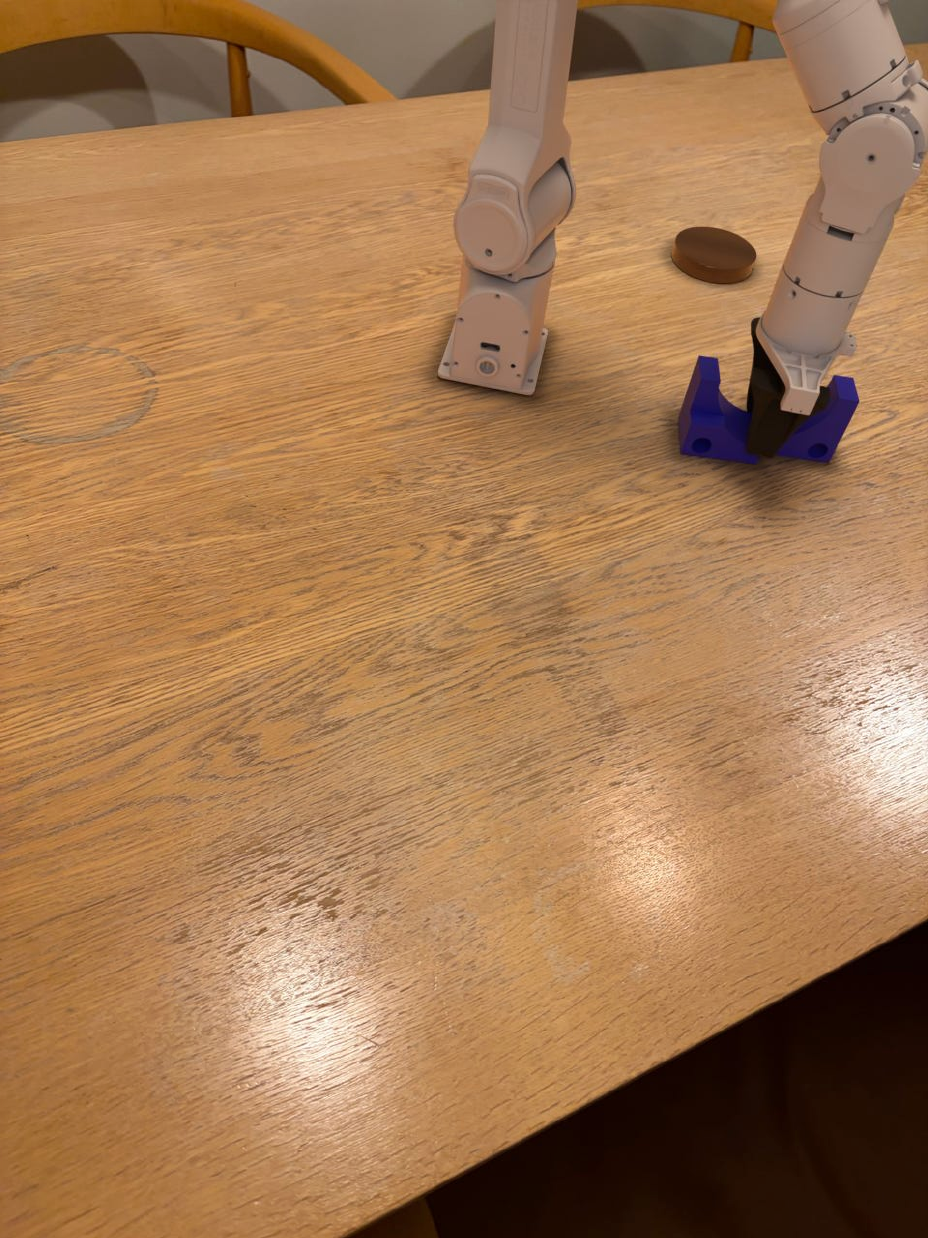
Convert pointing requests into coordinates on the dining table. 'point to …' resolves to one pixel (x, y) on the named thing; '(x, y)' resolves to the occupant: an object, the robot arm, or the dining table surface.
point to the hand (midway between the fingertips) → (759, 432)
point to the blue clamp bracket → (724, 427)
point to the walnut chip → (713, 254)
